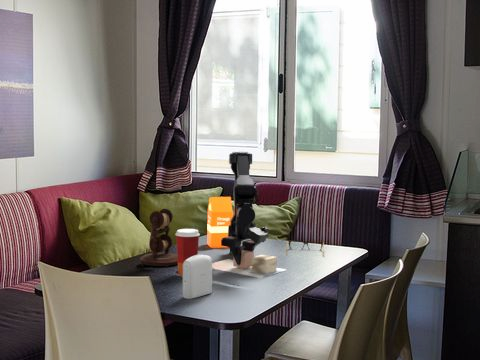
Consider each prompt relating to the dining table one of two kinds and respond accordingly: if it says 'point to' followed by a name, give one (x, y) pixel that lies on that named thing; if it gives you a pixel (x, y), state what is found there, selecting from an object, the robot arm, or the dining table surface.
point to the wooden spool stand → (160, 241)
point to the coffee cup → (186, 246)
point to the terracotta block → (245, 259)
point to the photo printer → (197, 276)
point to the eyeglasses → (307, 244)
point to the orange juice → (218, 220)
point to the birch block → (264, 264)
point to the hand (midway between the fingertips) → (243, 263)
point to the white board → (240, 269)
